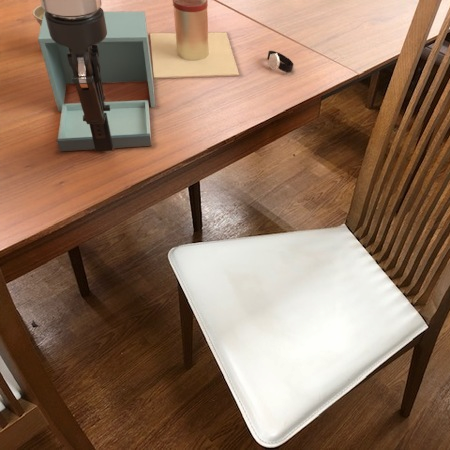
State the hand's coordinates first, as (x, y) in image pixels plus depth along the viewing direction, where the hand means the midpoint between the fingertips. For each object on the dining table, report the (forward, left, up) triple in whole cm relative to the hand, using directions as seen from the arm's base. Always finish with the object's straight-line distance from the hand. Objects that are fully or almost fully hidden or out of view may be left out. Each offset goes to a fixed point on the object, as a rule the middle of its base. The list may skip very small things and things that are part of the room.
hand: (104, 148), depth 85 cm
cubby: (-8, +19, -2) cm, 21 cm away
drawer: (-3, +8, -2) cm, 9 cm away
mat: (+3, +40, -2) cm, 40 cm away
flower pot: (-23, +33, -2) cm, 40 cm away
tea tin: (+3, +40, -2) cm, 40 cm away
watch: (+23, +41, -2) cm, 47 cm away
